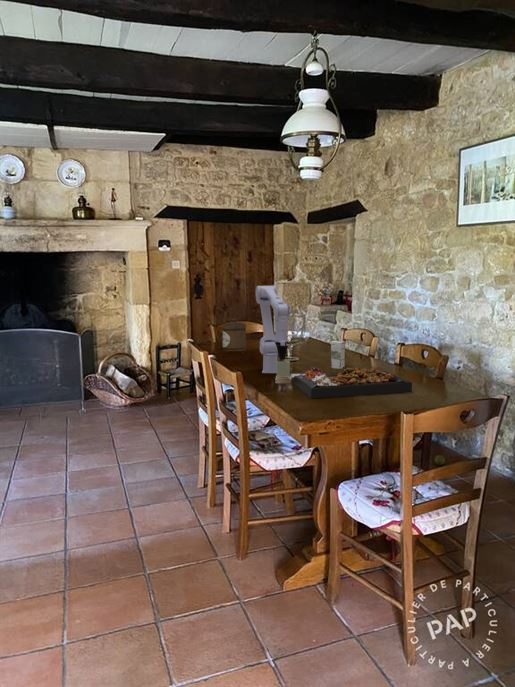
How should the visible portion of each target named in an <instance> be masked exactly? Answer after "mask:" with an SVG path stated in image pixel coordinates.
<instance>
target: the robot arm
mask: <svg viewBox="0 0 515 687" xmlns="http://www.w3.org/2000/svg"><path fill="white" fill-rule="evenodd" d="M277 293H278V289H277V286H275V284H273V285H257V286H256V287H255V300H256V303H257V304H259V306H260V313H261V319H262V320H261V321H262V329H263V336H262V337H261V338H260V340H259V352H260V353H261V355H262V358H263V359H262V371H261V373H262V374H277V361H278V358H279V361H285V359H286V355H287V351H288V348H289V345H287V344H288V343H287V342H289V337H288V336H289V335H288V332H289V330H288V325H289V321H288V319H289V316H290V312H291V311H290V309H291V308H290V305H289V303H285V302H284V301H283V299H282V297H280V296H279V295H277ZM271 307H272V310H273V316H274V322H275V323H274V324H275V330H274V327H273V320H272V319H273V318H272V313H271ZM274 332H275V333H274Z"/></svg>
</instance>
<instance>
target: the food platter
mask: <svg viewBox="0 0 515 687" xmlns="http://www.w3.org/2000/svg"><path fill="white" fill-rule="evenodd" d="M308 365H309V366H310V368H309V369H310V370H306V371H305V372H304V373H300V374H301V375H299V376H294V378H293V384H294V386H295V387H297V388H298V389H299V390H300V391H301V392H303V393H304V394H305V396H307V397H308V398H309V399H311V400H314V399H315V398H318V399H329V398H328V397H334V398H343V397H342V396H349V397H357V396H356V395H365V396H374V395H375V394H380V395H391V394H390V393H396V394H404V393H403V392H412V391H413V382H412V381H410V380H407V379H405V378H402V377H400V376H397V375H396V374H393V373H391V372H389V371H386V370H380V369H375V368H374V367H372V368H369V367H365V368H361V367H360V366H358V367H355V369H354V367H353V368H352V367H344V368H343V371H342V372H339V373H325V372H324V370H322V369H321V368H317V367H314V366H311V365H310V363H308ZM303 374H305V375H303ZM412 393H413V392H412ZM375 396H376V395H375ZM315 400H316V399H315Z"/></svg>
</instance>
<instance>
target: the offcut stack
mask: <svg viewBox="0 0 515 687" xmlns="http://www.w3.org/2000/svg"><path fill="white" fill-rule="evenodd" d="M291 381H292V379H291V380H290V378H288V376H277V380H275V384H292V382H291Z"/></svg>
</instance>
